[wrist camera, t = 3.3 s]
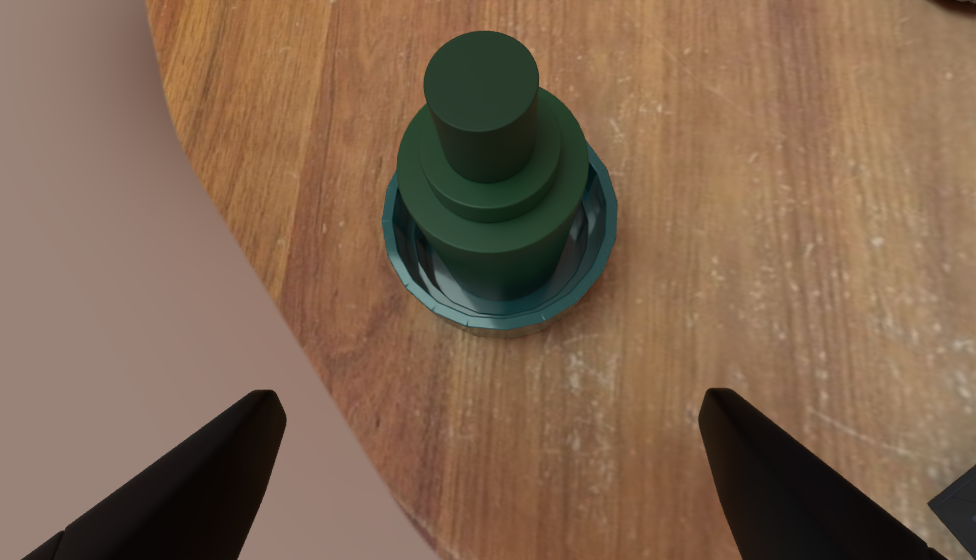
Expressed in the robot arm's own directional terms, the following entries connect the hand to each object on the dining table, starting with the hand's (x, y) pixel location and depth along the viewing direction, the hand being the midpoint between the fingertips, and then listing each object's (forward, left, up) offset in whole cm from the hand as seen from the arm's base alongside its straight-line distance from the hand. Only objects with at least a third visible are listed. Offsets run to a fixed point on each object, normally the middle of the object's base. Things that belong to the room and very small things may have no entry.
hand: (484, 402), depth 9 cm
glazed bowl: (+7, +1, -13) cm, 15 cm away
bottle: (+7, +1, -13) cm, 15 cm away
